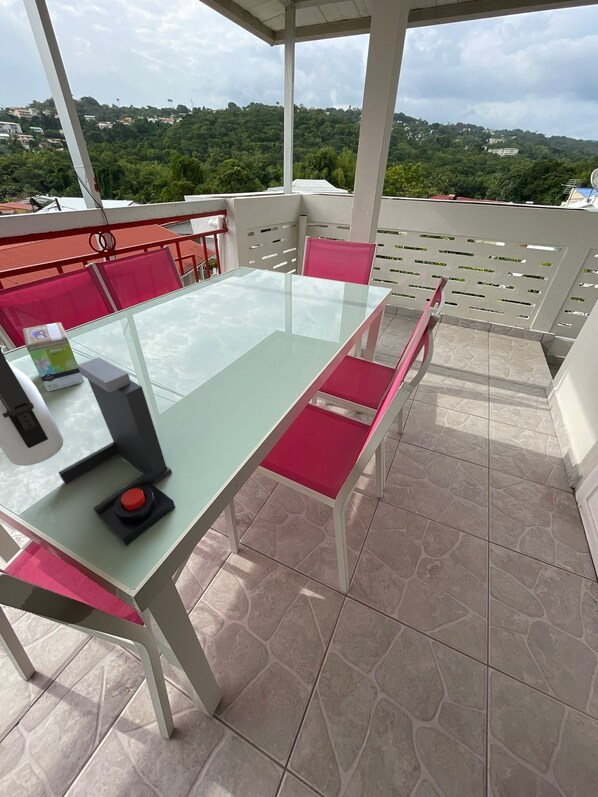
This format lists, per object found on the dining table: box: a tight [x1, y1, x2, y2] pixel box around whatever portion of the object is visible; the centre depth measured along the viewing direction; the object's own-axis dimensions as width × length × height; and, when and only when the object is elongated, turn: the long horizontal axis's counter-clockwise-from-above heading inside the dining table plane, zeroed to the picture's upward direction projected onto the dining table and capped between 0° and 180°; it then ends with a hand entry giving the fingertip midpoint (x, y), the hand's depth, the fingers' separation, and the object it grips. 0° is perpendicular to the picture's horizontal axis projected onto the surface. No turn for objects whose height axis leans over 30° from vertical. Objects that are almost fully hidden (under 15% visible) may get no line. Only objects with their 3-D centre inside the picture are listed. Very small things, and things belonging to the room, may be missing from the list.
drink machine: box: [58, 356, 173, 521], centre depth 62 cm, size 15×16×24 cm
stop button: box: [121, 488, 145, 511], centre depth 59 cm, size 4×4×2 cm
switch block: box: [99, 481, 176, 547], centre depth 61 cm, size 10×8×4 cm
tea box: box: [22, 321, 85, 392], centre depth 98 cm, size 15×10×15 cm
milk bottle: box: [0, 349, 64, 467], centre depth 50 cm, size 8×8×20 cm
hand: (27, 431), depth 53 cm, fingers closed on milk bottle, 8 cm apart
